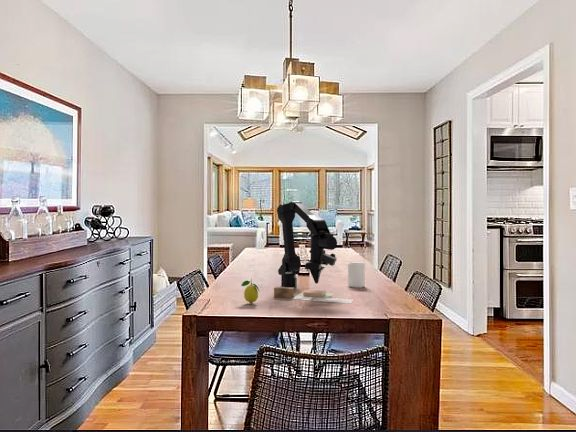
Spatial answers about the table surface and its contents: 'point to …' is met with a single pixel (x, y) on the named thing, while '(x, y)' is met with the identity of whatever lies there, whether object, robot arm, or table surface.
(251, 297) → the lemon
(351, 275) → the grey cylinder
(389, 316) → the table surface
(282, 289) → the turner
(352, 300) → the tool pad
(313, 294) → the tile
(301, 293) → the felt mat
